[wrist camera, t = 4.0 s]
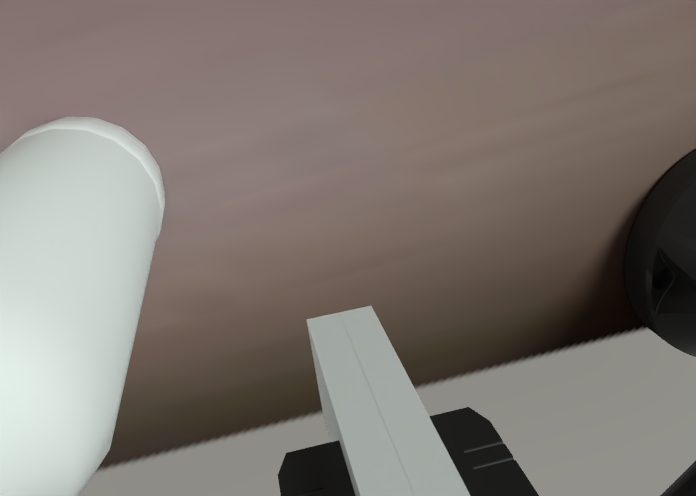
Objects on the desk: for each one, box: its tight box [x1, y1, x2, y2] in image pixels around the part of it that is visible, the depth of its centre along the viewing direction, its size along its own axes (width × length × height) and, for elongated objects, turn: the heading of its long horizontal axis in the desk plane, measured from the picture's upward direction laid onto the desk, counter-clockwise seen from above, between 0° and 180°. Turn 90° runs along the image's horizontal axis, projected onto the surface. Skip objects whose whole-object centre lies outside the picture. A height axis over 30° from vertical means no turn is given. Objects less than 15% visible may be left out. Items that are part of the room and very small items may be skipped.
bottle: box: [0, 117, 165, 496], centre depth 20 cm, size 8×8×30 cm
